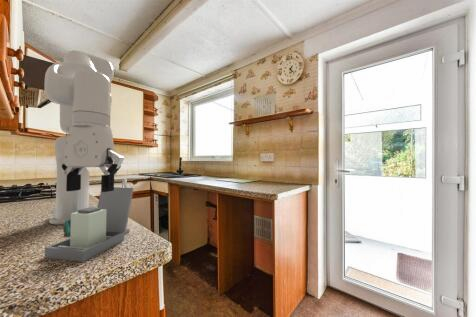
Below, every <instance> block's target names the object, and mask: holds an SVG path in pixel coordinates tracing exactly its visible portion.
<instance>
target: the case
mask: <svg viewBox="0 0 476 317" xmlns="http://www.w3.org/2000/svg"><path fill="white" fill-rule="evenodd" d="M123 241H125V235H124V232H120V231H107V230H106V240H104V241H102V242H100V243H97V244H95V245H93V246H91V247H89V248H82V247H71V246H70V237H69V238H67V239H64V240H61V241H58V242H56V243H53V244H51V245H48V246H46V247H44V258H45V259H54V260H62V261H72V262H80V263H84V262H86V261H88V260H90V259H92V258H94V257H96V256H97V255H99V254H101V253H103V252H105V251H106V250H108V249H111V248H112V247H114V246H116V245H118V244H120V243H122V242H123Z"/></svg>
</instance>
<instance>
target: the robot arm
mask: <svg viewBox="0 0 476 317" xmlns="http://www.w3.org/2000/svg"><path fill="white" fill-rule="evenodd" d="M114 74H115V73H114V67H113V65H112V63H111V62H110V61H109V60H108V59H106V58H102V57H100V56H96V55H93V54H90V53H88V52H84V51H81V50H74V49H73V50H70V51H67V52H66V53H65V54H64V55H63V62H62V61H57V62H55V63H53V64H51V65H50V66H49V67H48V68H47V70H46V71H45V75H44V86H43V87H44V93H45V97H46V98H47V99H48V100H49V101H50V102H52V103H54V104H57V105H59V124H60V126H59V127H60V129H61V131H62V133H63V132H64V133H65V134H67V135H62V136H59V137H58V138H56V139H55V141H54V144H53V148H54V155H55V163H56V180H55V182H56V184H55V185H56V188H55V207H54V208H53V209H51V210H49V214H51V215H53V217H51V218H50V219H49V224H51V225H65V222H66V221H67V220H70V219H71V213H75V212H78V210H81V209H85V208H89V207H90V206H89V204H90V203H89V202H90V200H89V199H90V197H89V196H90V171H89V170H88V168H99V169H100V170H101V173H103V174H102V175H101V176H100V177H101V179H100V180H101V182H100V184H101V185H100V189H101V190H100V192H101V191H102V192H108V191H113V190H114V187H115V175H117V174H118V171H119V170H120V169H121V167H122V166H121V165H122V163H123V162H124V160H125V158H124V156H123V155H121V154H119V153H118V152H116V151H115V145H114V137H113V130H112V128H111V124H110V123H111V106H112V93H111V83H112V82H113V79H114V77H115V76H114Z"/></svg>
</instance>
